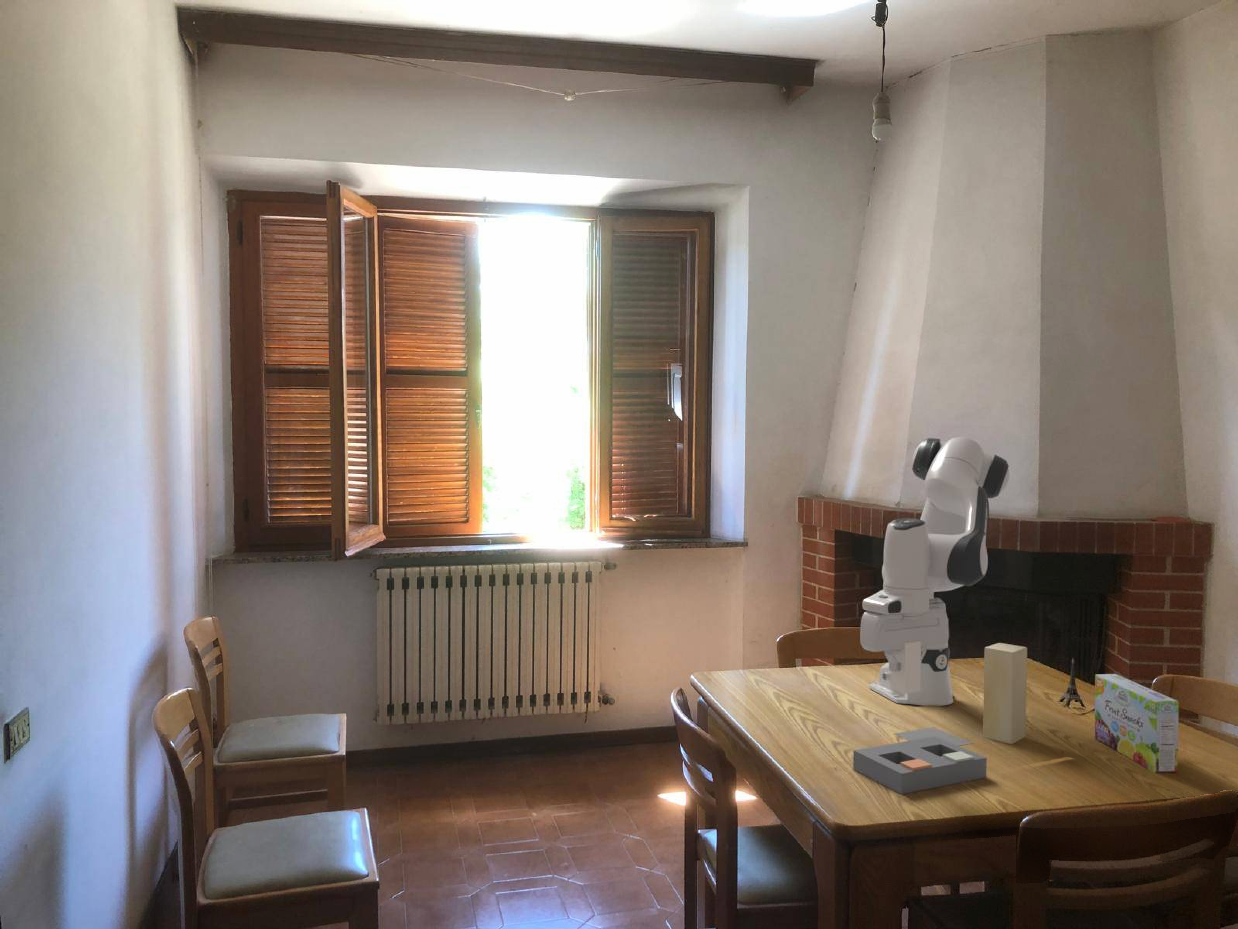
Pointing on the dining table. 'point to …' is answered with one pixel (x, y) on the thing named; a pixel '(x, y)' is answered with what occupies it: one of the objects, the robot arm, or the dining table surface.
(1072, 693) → the eiffel tower figurine
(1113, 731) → the snack box
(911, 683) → the plug
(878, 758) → the socket block
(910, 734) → the rubber mat
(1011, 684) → the tall beige block
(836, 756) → the dining table surface
